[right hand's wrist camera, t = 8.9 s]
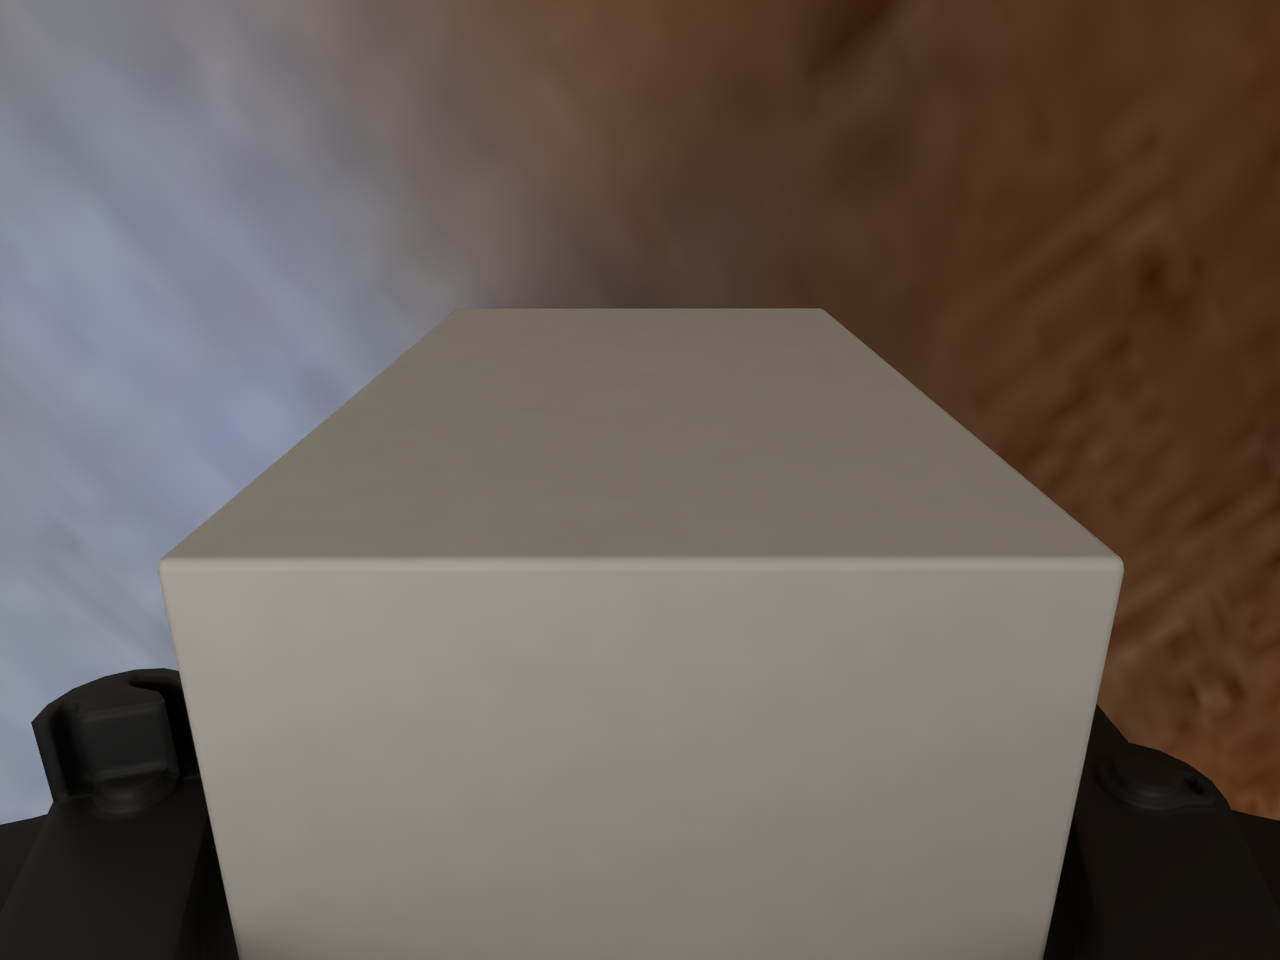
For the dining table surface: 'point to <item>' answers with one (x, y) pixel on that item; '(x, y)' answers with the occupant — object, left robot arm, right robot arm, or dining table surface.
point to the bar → (640, 657)
